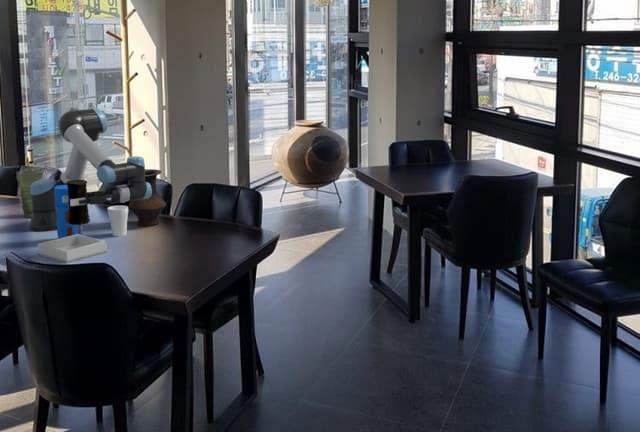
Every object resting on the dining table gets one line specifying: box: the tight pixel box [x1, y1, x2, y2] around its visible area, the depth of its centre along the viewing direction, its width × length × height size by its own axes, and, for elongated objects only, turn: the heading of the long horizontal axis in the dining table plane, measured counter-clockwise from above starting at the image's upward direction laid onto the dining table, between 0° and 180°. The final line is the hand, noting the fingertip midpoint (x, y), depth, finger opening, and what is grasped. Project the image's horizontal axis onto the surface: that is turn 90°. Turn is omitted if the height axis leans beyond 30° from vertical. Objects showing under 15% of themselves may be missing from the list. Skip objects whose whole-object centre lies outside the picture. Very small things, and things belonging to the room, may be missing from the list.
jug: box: [127, 168, 167, 227], centre depth 369 cm, size 21×18×30 cm
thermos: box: [54, 185, 83, 239], centre depth 339 cm, size 11×11×25 cm
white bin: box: [37, 234, 108, 264], centre depth 319 cm, size 20×20×5 cm
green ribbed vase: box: [15, 167, 45, 218], centre depth 385 cm, size 11×12×25 cm
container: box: [66, 179, 91, 226], centre depth 316 cm, size 9×9×18 cm
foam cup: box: [107, 205, 129, 237], centre depth 350 cm, size 10×9×13 cm
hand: (66, 201), depth 313 cm, fingers closed on container, 8 cm apart
